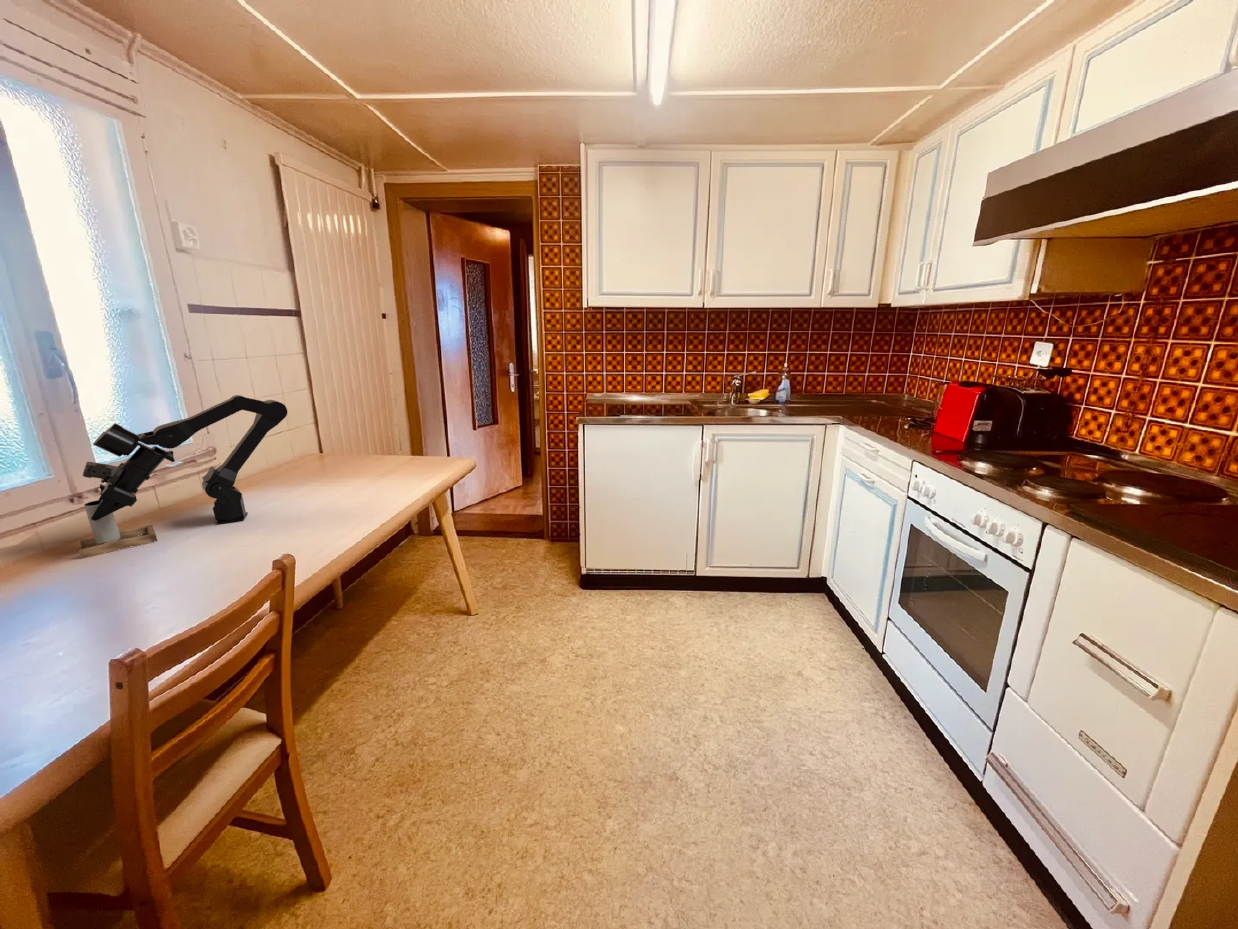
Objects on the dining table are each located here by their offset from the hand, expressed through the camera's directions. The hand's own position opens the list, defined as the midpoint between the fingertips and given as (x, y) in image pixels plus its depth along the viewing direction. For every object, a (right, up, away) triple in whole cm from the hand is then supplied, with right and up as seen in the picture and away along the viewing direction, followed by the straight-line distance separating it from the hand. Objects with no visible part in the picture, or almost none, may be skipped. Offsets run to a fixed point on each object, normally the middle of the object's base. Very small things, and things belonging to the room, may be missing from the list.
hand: (93, 517), depth 127 cm
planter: (+1, -6, +3) cm, 7 cm away
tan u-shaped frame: (+2, -7, +4) cm, 9 cm away
